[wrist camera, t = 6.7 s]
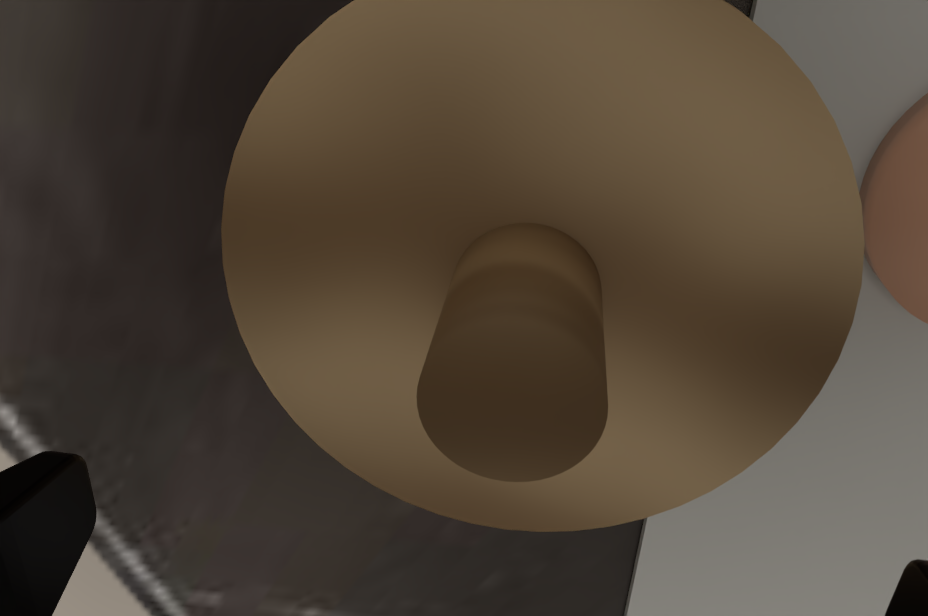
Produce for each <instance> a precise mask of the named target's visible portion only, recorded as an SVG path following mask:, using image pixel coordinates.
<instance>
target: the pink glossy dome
mask: <svg viewBox="0 0 928 616" xmlns="http://www.w3.org/2000/svg"><path fill="white" fill-rule="evenodd" d="M859 195H860V199H861V203H862V216H863V229H864V242H865V247H864V255H865V258H866V260H867V261H868V263H869V265H870V267H871V268H872V270H873V272H874V273H875V274H876V276H877V277H878V278H879V279H880V281H881V282H882V283H883V285H884V286H885V287H886V289H887V290H888V291H889V292H890V294H891V295H892V296H893V297H894V299H895V300H896V301H897V302H898V303H899V304H900V305H901V306H902V307H903V308H905V309H906V310H907V311H908V312H909V313H910V314H912V315H914V316H915V317H917V318H918V319H920V320H921V321H923V322H925V323H927V324H928V93H927V94H926V95H924V96H923V97H922V98H920V99H919V100H918V101H917V102H916V103H915V104H914V105H913V106H911V107H910V108H909V109H908V110H907V111H906V112H905V113H904V114H903V115H902V116H901V117H900V119H899V120H898V121H897V122H896V123H895V124H894V125H893V126H892V127H891V129H890V130H889V132H888V133H887V134H886V136H885V137H884V139H883V140H882V141H881V143H880V144H879V146H878V148H877V150H876V151H875V153H874V155H873V157H872V158H871V160H870V163H869V165H868V167H867V170H866V172H865V175H864V177H863V181H862V185H861V188H860V192H859Z"/></svg>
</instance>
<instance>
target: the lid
mask: <svg viewBox="0 0 928 616" xmlns="http://www.w3.org/2000/svg"><path fill="white" fill-rule="evenodd" d="M221 234H222V257H223V268H224V273H225V279H226V285H227V290H228V296H229V300H230V304H231V307H232V310H233V313H234V316H235V319H236V322H237V326H238V329H239V332H240V334H241V337H242V339H243V341H244V343H245V345H246V347H247V349H248V352H249V354H250V356H251V358H252V360H253V362H254V365H255V366H256V368H257V369H258V371H259V373H260V374H261V376H262V378H263V379H264V381H265V382H266V384H267V386H268V387H269V389H270V390H271V392H272V394H273V395H274V396H275V398H276V399H277V400H278V401H279V403H280V404H281V405H282V406H283V408H284V409H285V410H286V411H287V413H288V414H289V415H290V416H291V418H292V419H293V420H294V421H295V422H296V423H297V424H298V425H299V426H300V427H301V428H302V429H303V430H304V431H305V432H306V433H307V434H308V435H309V436H310V437H311V438H312V439H313V440H314V441H315V442H316V443H317V444H318V445H319V446H320V447H321V448H322V449H323V450H325V451H326V452H327V453H328V454H330V455H331V456H332V457H333V458H335V459H336V460H337V461H338V462H340V463H341V464H342V465H343V466H344V467H346V468H347V469H349V470H350V471H352V472H354V473H355V474H357V475H358V476H360V477H361V478H363V479H364V480H366V481H367V482H369V483H371V484H372V485H374V486H375V487H377V488H379V489H381V490H383V491H385V492H387V493H389V494H391V495H393V496H395V497H397V498H399V499H401V500H403V501H405V502H407V503H410V504H413V505H415V506H418V507H420V508H423V509H425V510H428V511H431V512H433V513H436V514H439V515H442V516H446V517H450V518H453V519H457V520H460V521H464V522H468V523H472V524H477V525H483V526H489V527H495V528H500V529H508V530H521V531H535V532H554V531H579V530H587V529H594V528H602V527H610V526H614V525H619V524H623V523H627V522H632V521H636V520H640V519H645V518H648V517H650V516H653V515H656V514H659V513H662V512H665V511H668V510H671V509H673V508H676V507H679V506H681V505H683V504H685V503H688V502H690V501H692V500H694V499H696V498H698V497H700V496H702V495H704V494H707V493H709V492H711V491H713V490H714V489H716V488H717V487H719V486H721V485H722V484H724V483H725V482H727V481H729V480H730V479H732V478H734V477H735V476H737V475H738V474H740V473H742V472H743V471H744V470H746V469H747V468H748V467H749V466H751V465H752V464H753V463H754V462H756V461H757V460H758V459H759V458H761V457H762V456H763V455H764V454H766V453H767V452H768V451H769V450H771V449H772V448H773V447H774V446H775V445H776V444H777V443H778V442H779V441H780V440H781V439H782V438H783V436H784V435H785V434H786V433H787V432H788V431H789V430H790V429H791V428H792V427H793V426H794V425H795V424H796V423H797V422H798V421H799V419H800V418H801V417H802V415H803V414H804V413H805V412H806V410H807V409H808V408H809V406H810V405H811V404H812V402H813V401H814V400H815V398H816V397H817V396H818V394H819V393H820V391H821V390H822V388H823V386H824V384H825V383H826V381H827V379H828V377H829V375H830V374H831V372H832V370H833V368H834V367H835V365H836V363H837V361H838V359H839V357H840V354H841V352H842V349H843V347H844V344H845V342H846V339H847V336H848V334H849V331H850V329H851V326H852V324H853V320H854V315H855V311H856V307H857V302H858V298H859V294H860V289H861V285H862V273H863V260H864V247H865V242H864V229H863V216H862V203H861V199H860V195H859V191H858V186H857V182H856V178H855V174H854V170H853V165H852V161H851V159H850V156H849V154H848V152H847V149H846V147H845V144H844V142H843V139H842V137H841V135H840V132H839V130H838V127H837V125H836V122H835V120H834V118H833V117H832V115H831V114H830V112H829V110H828V109H827V107H826V105H825V104H824V102H823V100H822V99H821V97H820V96H819V94H818V92H817V91H816V89H815V87H814V86H813V84H812V82H811V81H810V80H809V79H808V77H807V76H806V75H805V74H804V73H803V72H802V70H801V69H800V68H799V67H798V66H797V64H796V63H795V62H794V61H793V60H792V59H791V57H790V56H789V55H788V54H787V53H786V51H785V50H784V49H783V48H782V47H781V46H780V45H779V44H778V43H777V42H776V41H775V40H773V39H772V38H771V37H770V36H769V35H768V34H767V33H765V32H764V31H763V30H762V29H761V28H760V27H758V26H757V25H756V24H755V23H754V22H753V21H752V20H750V19H749V18H748V17H747V16H746V15H745V14H743V13H742V12H741V11H739V10H738V9H736V8H735V7H734V6H732V5H731V4H729V3H728V2H726V1H724V0H354V1H352V2H351V3H349V4H348V5H346V6H345V7H343V8H342V9H340V10H339V11H337V12H336V13H335V14H333V15H332V16H330V17H329V18H328V19H327V20H326V21H324V22H323V23H322V24H321V25H320V26H319V27H318V28H317V29H316V30H315V31H314V32H312V33H311V34H310V35H309V36H308V37H307V38H306V39H305V40H304V41H303V42H302V43H300V44H299V45H298V46H297V47H296V49H295V50H294V51H293V52H292V53H291V55H290V56H289V57H288V58H287V60H286V61H285V62H284V63H283V65H282V66H281V67H280V68H279V69H278V71H277V72H276V73H275V74H274V76H273V77H272V78H271V79H270V81H269V83H268V84H267V86H266V88H265V89H264V91H263V93H262V94H261V96H260V98H259V99H258V101H257V103H256V105H255V106H254V108H253V110H252V111H251V113H250V115H249V117H248V119H247V122H246V124H245V127H244V129H243V132H242V134H241V136H240V139H239V141H238V144H237V146H236V149H235V151H234V155H233V159H232V163H231V167H230V171H229V175H228V179H227V183H226V187H225V194H224V204H223V214H222V224H221Z"/></svg>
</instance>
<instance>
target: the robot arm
mask: <svg viewBox="0 0 928 616" xmlns="http://www.w3.org/2000/svg"><path fill="white" fill-rule="evenodd" d="M95 522H96V505H95V501H94V496H93V492H92V487H91V482H90V478H89V473H88V469H87V465H86V462H85V461H84V459H83V458H82V457H81V456H79V455H77V454H71V453H63V452H54V451H45V452H41V453H39V454H37V455H35V456H33V457H31V458H28V459H26V460H24V461H22V462H20V463H18V464H16V465H14V466H12V467H10V468H8V469H6V470H3V471H1V472H0V616H52V614H53V612H54V610H55V608H56V606H57V604H58V602H59V600H60V598H61V596H62V594H63V592H64V590H65V588H66V585H67V583H68V581H69V579H70V577H71V575H72V573H73V571H74V569H75V567H76V565H77V563H78V561H79V559H80V557H81V555H82V552H83V550H84V548H85V546H86V544H87V542H88V540H89V538H90V536H91V534H92V531H93V529H94V526H95ZM885 616H928V560H922V559H916V560H912V561H910V562H909V563H908V564H907V565H906V567H905V569H904V570H903V573H902V575H901V577H900V580H899V582H898V584H897V587H896V589H895V591H894V594H893V596H892V598H891V601H890V603H889V605H888V608H887V610H886V613H885Z"/></svg>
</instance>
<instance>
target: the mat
mask: <svg viewBox="0 0 928 616" xmlns="http://www.w3.org/2000/svg"><path fill="white" fill-rule="evenodd" d="M749 19H750V20H752V21H753V22H754V23H755V24H756V25H757V26H758V27H760V28H761V29H762V30H763V31H764V32H765V33H767V34H768V35H769V36H770V37H771V38H772V39H773V40H775V41H776V42H777V43H778V44H779V45H780V46H781V47H782V48H783V49H784V50H785V51H786V53H787V54H788V55H789V56H790V57H791V59H792V60H793V61H794V62H795V63H796V64H797V66H798V67H799V68H800V69H801V70H802V72H803V73H804V74H805V75H806V76H807V77H808V79H809V80H810V81H811V82H812V84H813V86H814V87H815V89H816V91H817V92H818V94H819V96H820V97H821V99H822V100H823V102H824V104H825V105H826V107H827V109H828V110H829V112H830V114H831V115H832V117H833V118H834V120H835V122H836V125H837V127H838V130H839V132H840V135H841V137H842V139H843V142H844V144H845V147H846V149H847V152H848V154H849V156H850V159H851V161H852V165H853V170H854V174H855V178H856V182H857V186H858V191H859V192H860V188H861V185H862V181H863V177H864V175H865V172H866V170H867V167H868V165H869V163H870V160H871V158H872V157H873V155H874V153H875V151H876V150H877V148H878V146H879V144H880V143H881V141H882V140H883V139H884V137H885V136H886V134H887V133H888V132H889V130H890V129H891V127H892V126H893V125H894V124H895V123H896V122H897V121H898V120H899V119H900V117H901V116H902V115H903V114H904V113H905V112H906V111H907V110H908V109H909V108H910V107H911V106H913V105H914V104H915V103H916V102H917V101H918V100H919V99H920V98H922V97H923V96H924V95H926V94H927V93H928V0H753V3H752V8H751V13H750V17H749ZM916 559H922V560H928V324H927V323H925V322H923V321H921V320H920V319H918V318H917V317H915V316H914V315H912V314H910V313H909V312H908V311H907V310H906V309H905V308H903V307H902V306H901V305H900V304H899V303H898V302H897V301H896V300H895V299H894V297H893V296H892V295H891V294H890V292H889V291H888V290H887V289H886V287H885V286H884V285H883V283H882V282H881V281H880V279H879V278H878V277H877V276H876V274H875V273H874V272H873V270H872V268H871V267H870V265H869V263H868V261H867V260H866V258H865V255H864V260H863V273H862V285H861V289H860V294H859V298H858V302H857V307H856V311H855V315H854V320H853V324H852V326H851V329H850V331H849V334H848V336H847V339H846V342H845V344H844V347H843V349H842V352H841V354H840V357H839V359H838V361H837V363H836V365H835V367H834V368H833V370H832V372H831V374H830V375H829V377H828V379H827V381H826V383H825V384H824V386H823V388H822V390H821V391H820V393H819V394H818V396H817V397H816V398H815V400H814V401H813V402H812V404H811V405H810V406H809V408H808V409H807V410H806V412H805V413H804V414H803V415H802V417H801V418H800V419H799V421H798V422H797V423H796V424H795V425H794V426H793V427H792V428H791V429H790V430H789V431H788V432H787V433H786V434H785V435H784V436H783V438H782V439H781V440H780V441H779V442H778V443H777V444H776V445H775V446H774V447H773V448H772V449H771V450H769V451H768V452H767V453H766V454H764V455H763V456H762V457H761V458H759V459H758V460H757V461H756V462H754V463H753V464H752V465H751V466H749V467H748V468H747V469H746V470H744V471H743V472H742V473H740V474H738V475H737V476H735V477H734V478H732V479H730V480H729V481H727V482H725V483H724V484H722V485H721V486H719V487H717V488H716V489H714V490H713V491H711V492H709V493H707V494H704V495H702V496H700V497H698V498H696V499H694V500H692V501H690V502H688V503H685V504H683V505H681V506H679V507H676V508H673V509H671V510H668V511H665V512H662V513H659V514H656V515H653V516H650V517H648V518H645V519H644V522H643V527H642V531H641V536H640V541H639V546H638V551H637V555H636V560H635V565H634V570H633V574H632V579H631V584H630V589H629V593H628V598H627V603H626V608H625V612H624V616H885V613H886V610H887V608H888V605H889V603H890V601H891V598H892V596H893V594H894V591H895V589H896V587H897V584H898V582H899V580H900V577H901V575H902V573H903V570H904V569H905V567H906V565H907V564H908V563H909V562H910V561H912V560H916Z"/></svg>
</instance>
